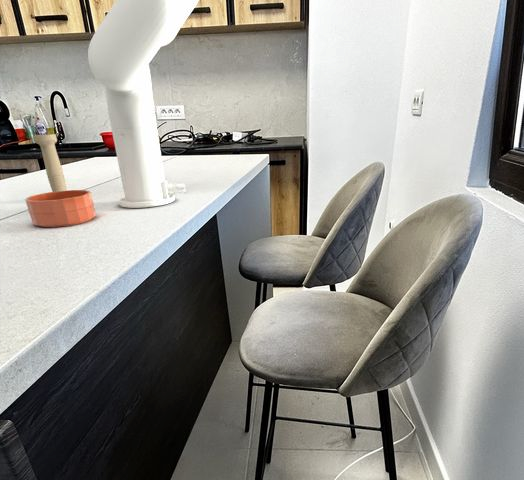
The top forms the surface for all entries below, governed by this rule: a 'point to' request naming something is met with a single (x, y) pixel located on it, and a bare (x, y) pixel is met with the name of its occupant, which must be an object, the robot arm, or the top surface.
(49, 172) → the handle
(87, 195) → the bowl
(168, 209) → the top surface
